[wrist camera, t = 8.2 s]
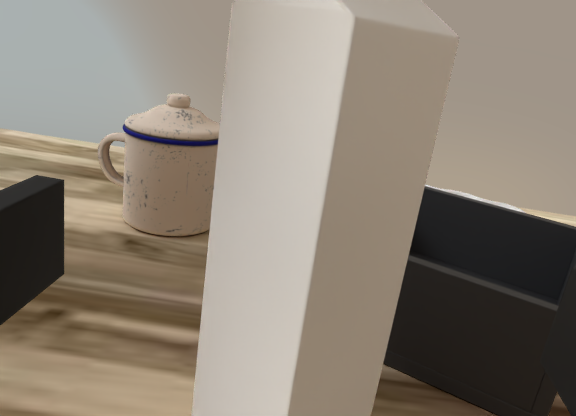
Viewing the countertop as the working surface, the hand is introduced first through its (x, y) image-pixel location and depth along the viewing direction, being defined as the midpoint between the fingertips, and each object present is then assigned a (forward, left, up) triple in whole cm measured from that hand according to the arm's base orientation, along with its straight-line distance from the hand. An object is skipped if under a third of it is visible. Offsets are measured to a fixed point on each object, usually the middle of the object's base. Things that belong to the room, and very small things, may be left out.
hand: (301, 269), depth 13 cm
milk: (-3, +7, -13) cm, 15 cm away
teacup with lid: (-27, +23, -13) cm, 38 cm away
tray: (-1, +25, -12) cm, 28 cm away
